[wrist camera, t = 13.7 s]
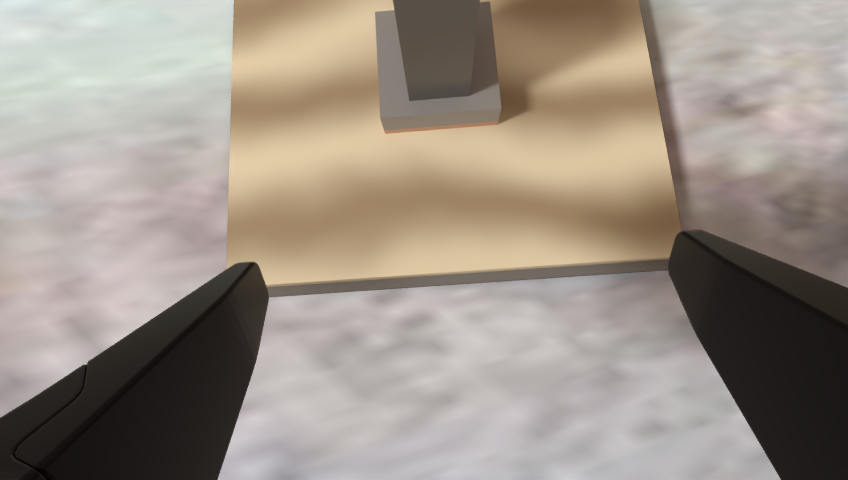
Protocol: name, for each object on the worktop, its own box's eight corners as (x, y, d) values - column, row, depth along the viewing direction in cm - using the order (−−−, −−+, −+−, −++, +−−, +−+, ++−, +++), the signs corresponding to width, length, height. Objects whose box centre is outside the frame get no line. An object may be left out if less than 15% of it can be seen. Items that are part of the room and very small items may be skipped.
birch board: (683, 268, 22) (699, 264, 21) (229, 299, 23) (215, 298, 22) (623, -56, 26) (633, -77, 25) (238, -19, 27) (226, -38, 26)
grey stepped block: (497, 124, 23) (529, 2, 14) (385, 133, 23) (348, 18, 14) (486, 24, 24) (510, -146, 15) (380, 34, 24) (343, -129, 16)
